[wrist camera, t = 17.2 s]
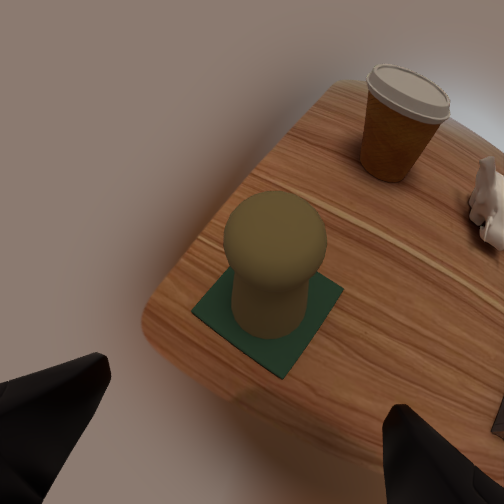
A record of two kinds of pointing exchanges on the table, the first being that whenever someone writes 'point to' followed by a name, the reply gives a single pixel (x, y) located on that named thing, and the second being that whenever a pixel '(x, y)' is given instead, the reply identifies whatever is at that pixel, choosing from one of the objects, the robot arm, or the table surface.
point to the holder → (499, 422)
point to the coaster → (268, 350)
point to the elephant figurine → (489, 203)
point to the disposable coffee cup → (399, 120)
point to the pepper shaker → (273, 261)
